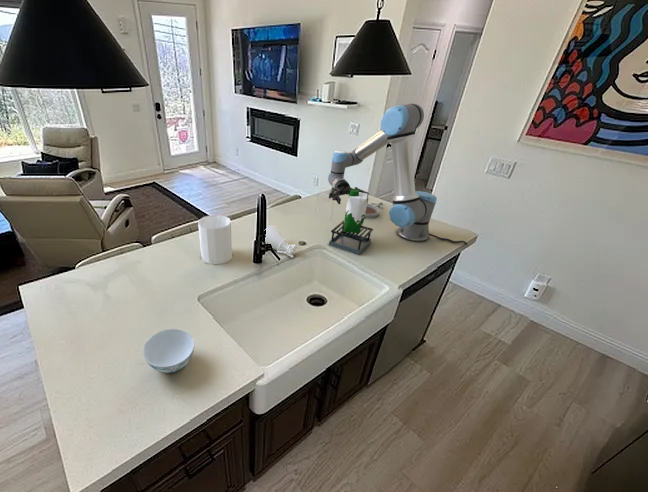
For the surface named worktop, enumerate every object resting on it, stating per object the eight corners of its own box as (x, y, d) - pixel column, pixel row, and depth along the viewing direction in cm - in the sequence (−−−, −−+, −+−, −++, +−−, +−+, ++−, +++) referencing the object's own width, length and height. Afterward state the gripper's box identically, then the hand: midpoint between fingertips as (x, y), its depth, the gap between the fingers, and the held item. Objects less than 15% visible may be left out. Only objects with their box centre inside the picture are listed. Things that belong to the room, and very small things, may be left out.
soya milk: (343, 224, 167) (350, 186, 155) (362, 227, 164) (370, 188, 153) (341, 232, 160) (348, 192, 148) (360, 235, 157) (369, 195, 146)
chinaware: (141, 384, 96) (136, 366, 92) (154, 345, 108) (150, 328, 104) (192, 384, 96) (189, 366, 92) (199, 345, 109) (197, 328, 104)
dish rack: (370, 242, 167) (373, 228, 163) (359, 255, 157) (362, 240, 153) (341, 233, 175) (343, 220, 171) (328, 245, 165) (330, 230, 161)
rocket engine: (301, 240, 149) (271, 221, 156) (286, 260, 148) (257, 240, 156) (305, 248, 160) (277, 230, 167) (291, 267, 159) (263, 248, 166)
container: (233, 262, 151) (232, 227, 141) (202, 265, 148) (199, 230, 138) (229, 247, 163) (228, 213, 153) (200, 249, 160) (197, 216, 150)
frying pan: (394, 204, 203) (370, 216, 187) (393, 209, 205) (369, 221, 188) (370, 196, 213) (345, 207, 197) (369, 201, 215) (344, 211, 199)
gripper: (362, 192, 180) (376, 208, 162) (317, 193, 178) (327, 209, 161) (365, 179, 175) (380, 193, 158) (319, 179, 174) (329, 194, 156)
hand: (353, 201), depth 159 cm, fingers open, 13 cm apart
